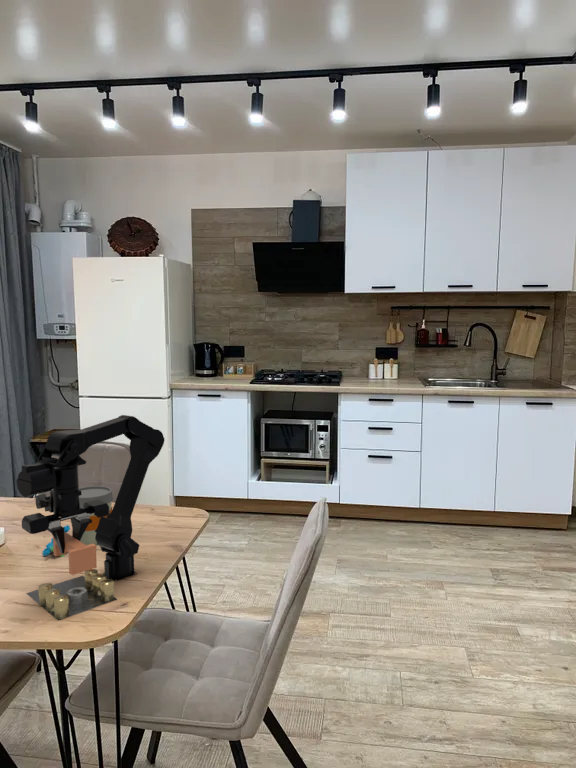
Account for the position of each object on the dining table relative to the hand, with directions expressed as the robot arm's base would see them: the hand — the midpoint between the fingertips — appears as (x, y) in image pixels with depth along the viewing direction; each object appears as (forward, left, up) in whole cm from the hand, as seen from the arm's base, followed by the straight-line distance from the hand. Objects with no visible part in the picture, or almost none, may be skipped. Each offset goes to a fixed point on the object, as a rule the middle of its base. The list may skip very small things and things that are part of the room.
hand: (68, 551), depth 137 cm
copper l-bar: (0, +1, -2) cm, 3 cm away
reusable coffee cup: (-20, -31, -12) cm, 39 cm away
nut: (0, +4, -11) cm, 11 cm away
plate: (0, +1, -11) cm, 11 cm away
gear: (-9, -28, -12) cm, 32 cm away
